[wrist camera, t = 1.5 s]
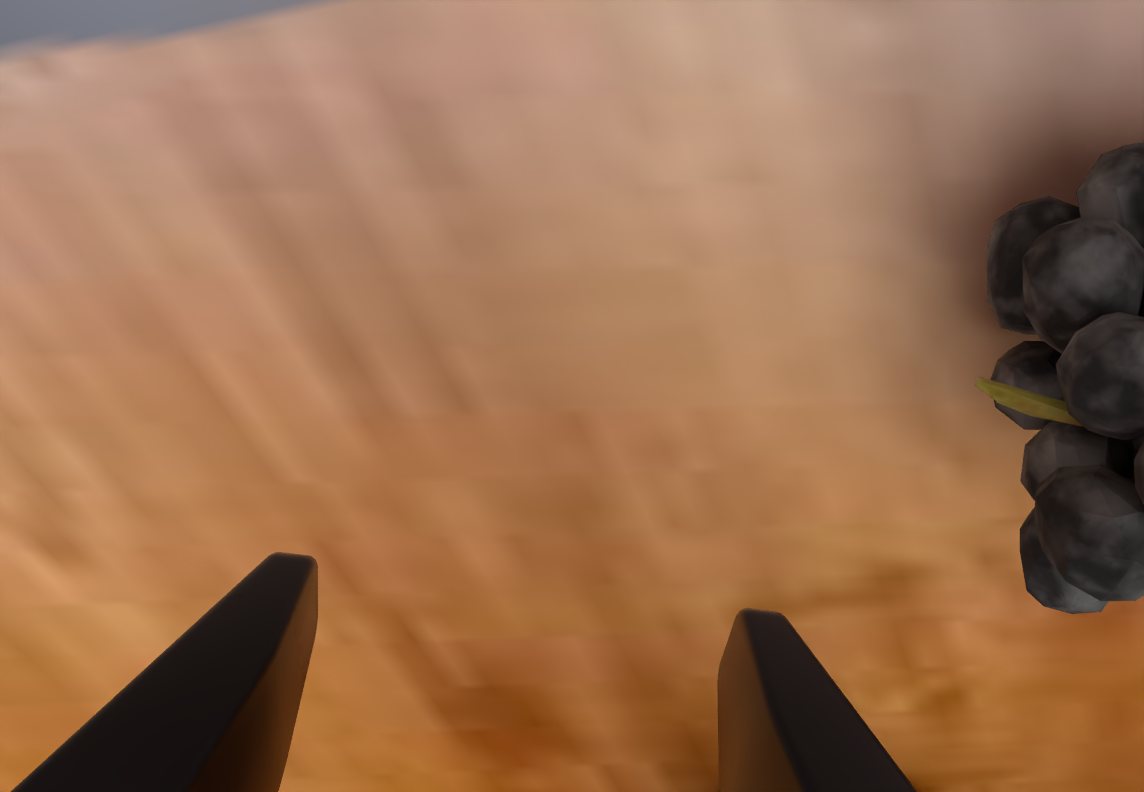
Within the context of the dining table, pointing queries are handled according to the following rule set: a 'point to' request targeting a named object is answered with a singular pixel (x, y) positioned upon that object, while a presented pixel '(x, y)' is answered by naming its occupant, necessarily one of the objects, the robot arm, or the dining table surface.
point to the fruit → (1077, 381)
